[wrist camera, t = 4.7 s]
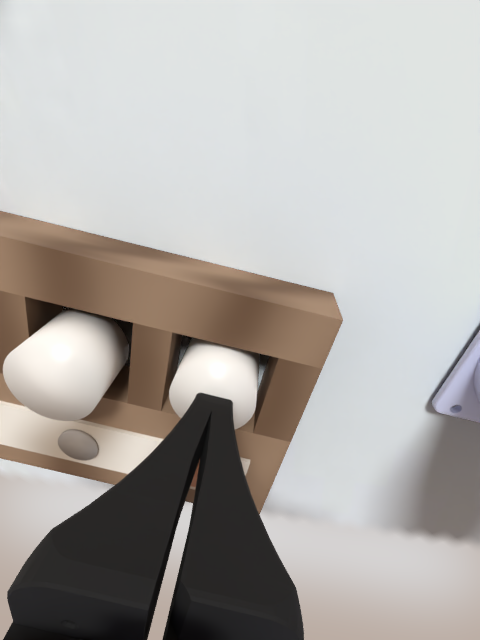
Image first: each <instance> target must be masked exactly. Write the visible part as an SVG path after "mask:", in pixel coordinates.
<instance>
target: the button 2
mask: <svg viewBox="0 0 480 640" xmlns="http://www.w3.org/2000/svg"><path fill="white" fill-rule="evenodd" d="M259 361H260V358H259V353H256V352H251V351H247V350H243V349H239V348H235V347H231V346H227V345H223V344H218V343H214V342H210V341H206V340H202V339H198V338H194V337H193V338H192V339H191V341H190V342H189V345H188V347H187V349H186V352H185V354H184V356H183V358H182V361H181V363H180V365H179V368H178V370H177V372H176V374H175V377H174V379H173V381H172V384H171V386H170V390H169V399H170V403H171V405H172V408H173V409H174V411H175V412H176V414H177V415H178V416H179V417H180V418H182V417H183V415H184V414H185V413H186V411H187V410H188V408H189V407H190V405H191V404H192V402H193V400H194V399H195V397H196V394H198V393H200V392H201V393H205V394H209V395H213V396H217V397H221V398H225V399H229V400H231V401H232V402H233V420H234V429H238V428H240V427H241V426H243V425H245V424H246V423H247V422H248V421H249V420H250V419H251V417H252V416H253V414H254V412H255V408H256V399H257V387H258V374H259Z"/></svg>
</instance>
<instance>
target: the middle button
mask: <svg viewBox="0 0 480 640" xmlns="http://www.w3.org/2000/svg"><path fill="white" fill-rule="evenodd" d="M128 356H129V345H128V341H127V338H126V336H125V334H124V332H123V331H122V329H121V328H120V327H119V326H118V325H117V323H116V322H114V321H113V320H112V319H111V318H110V317H107V316H103V315H99V314H95V313H91V312H86V311H82V310H78V309H74V308H69V309H66V310H64V311H62V312H61V313H60V314H58V315H57V316H56V317H55V318H53V319H52V320H51V321H49V322H48V323H47V324H46V325H44V326H43V327H42V328H41V329H39V330H38V331H37V332H35V333H34V334H33V335H32V336H30V337H29V338H28V339H27V340H25V341H24V342H23V343H22V344H20V345H19V346H18V347H16V348H15V349H14V350H13V351H11V352H10V353H9V354H8V355H7V357H6V359H5V360H4V364H3V376H4V379H5V382H6V384H7V386H8V388H9V390H10V391H11V393H12V394H13V395H14V396H15V397H16V399H18V400H19V401H20V402H21V403H22V404H23V405H24V406H26V407H27V408H28V409H30V410H32V411H33V412H35V413H37V414H39V415H41V416H44V417H47V418H50V419H53V420H59V421H74V420H79V419H82V418H84V417H86V416H88V415H89V414H90V413H91V412H92V411H93V410H94V408H95V407H96V405H97V404H98V403H99V401H100V400H101V398H102V397H103V395H104V394H105V392H106V391H107V389H108V388H109V387H110V385H111V384H112V382H113V381H114V379H115V378H116V376H117V375H118V373H119V372H120V370H121V369H122V368H123V366H124V365H125V363H126V361H127V359H128Z"/></svg>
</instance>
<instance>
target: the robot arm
mask: <svg viewBox="0 0 480 640" xmlns="http://www.w3.org/2000/svg"><path fill="white" fill-rule="evenodd" d="M432 405H433V407H434V409H435V410H436V411H437V412H439V413H441V414H446V415H450V416H454V417H458V418H462V419H466V420H470V421H475V422H479V423H480V330H479V332H478V333H477V335H476V336H475V338H474V339H473V341H472V342H471V344H470V345H469V347H468V348H467V350H466V351H465V353H464V354H463V356H462V357H461V359H460V360H459V362H458V363H457V365H456V366H455V368H454V369H453V370H452V372H451V373H450V375H449V376H448V378H447V379H446V381H445V382H444V384H443V385H442V387H441V388H440V390H439V391H438V393H437V394H436V396H435V397H434V399H433V401H432ZM454 405H456V406H455V407H452V406H454ZM199 460H200V462H199ZM198 463H199V469H198V475H197V482H196V488H195V495H194V501H193V508H192V514H191V520H190V526H189V531H188V535H187V539H186V543H185V548H184V552H183V556H182V561H181V564H180V569H179V573H178V577H177V581H176V585H175V590H174V594H173V598H172V602H171V606H170V611H169V615H168V619H167V623H166V627H165V632H164V636H163V640H304V631H303V622H302V615H301V609H300V604H299V599H298V595H297V591H296V587H295V585H294V583H293V581H292V580H291V578H290V576H289V574H288V573H287V571H286V569H285V567H284V565H283V564H282V562H281V560H280V558H279V556H278V554H277V552H276V550H275V548H274V546H273V544H272V542H271V540H270V538H269V536H268V534H267V531H266V529H265V527H264V525H263V522H262V520H261V518H260V515H259V513H258V511H257V508H256V506H255V503H254V500H253V498H252V495H251V492H250V489H249V486H248V483H247V480H246V477H245V473H244V470H243V466H242V462H241V459H240V454H239V450H238V445H237V440H236V435H235V429H234V420H233V402H232V401H231V400H229V399H225V398H221V397H217V396H213V395H209V394H205V393H201V392H200V393H198V394H196V397H195V399H194V400H193V402H192V404H191V405H190V407H189V408H188V410H187V411H186V413H185V414H184V415H183V417H182V418H181V419H180V421H179V422H178V423H177V424H176V426H175V427H174V428H173V429H172V431H171V432H170V433H169V434H168V435H167V436H166V437H165V439H164V440H163V441H162V442H161V443H160V444H159V445H158V446H157V447H156V448H155V449H154V450H153V451H152V452H151V454H150V455H148V456H147V457H146V458H145V459H144V460H143V461H142V462H141V463H140V464H139V465H138V466H137V467H136V468H135V469H133V470H132V471H131V472H130V473H129V474H128V475H127V476H125V477H124V478H123V479H122V480H121V481H120V482H118V483H117V484H116V485H115V486H113V487H112V488H111V489H109V490H108V491H107V492H105V493H104V494H103V495H101V496H100V497H99V498H98V499H96V500H95V501H93V502H92V503H91V504H90V505H88V506H86V507H85V508H84V509H82V510H81V511H79V512H78V513H76V514H74V515H73V516H71V517H70V518H68V519H67V520H65V521H64V522H62V523H61V524H59V525H58V526H56V527H54V528H53V529H52V530H51V531H50V532H49V533H48V534H47V535H46V537H45V538H44V539H43V540H42V541H41V542H40V544H39V545H38V546H37V547H36V549H35V550H34V551H33V553H32V554H31V555H30V557H29V558H28V559H27V561H26V562H25V564H24V565H23V567H22V569H21V570H20V572H19V574H18V575H17V577H16V579H15V581H14V582H13V584H12V585H11V587H10V589H9V590H8V597H7V599H8V603H9V607H10V611H11V614H12V618H13V623H12V624H11V626H10V628H9V630H8V632H7V634H6V635H5V637H4V639H3V640H147V638H148V634H149V630H150V627H151V623H152V619H153V615H154V611H155V607H156V604H157V600H158V596H159V592H160V588H161V584H162V580H163V577H164V573H165V569H166V565H167V561H168V557H169V554H170V550H171V546H172V542H173V539H174V534H175V531H176V527H177V524H178V520H179V518H180V514H181V511H182V509H183V506H184V503H185V500H186V497H187V494H188V491H189V489H190V486H191V483H192V480H193V477H194V474H195V471H196V469H197V466H198Z"/></svg>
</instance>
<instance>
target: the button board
mask: <svg viewBox="0 0 480 640" xmlns="http://www.w3.org/2000/svg"><path fill="white" fill-rule="evenodd" d="M62 306H66V307H70V308H74V309H78V310H82V311H86V312H91V313H95V314H99V315H103V316H107V317H111V318H115V319H119V320H124V321H128V322H132V323H133V331H132V344H131V358H130V367H129V366H125V365H124V366H123V368H122V369H121V370H120V372H119V373H118V375H117V376H116V378H115V379H114V381H113V382H112V384H111V385H110V387H109V388H108V389H107V391H106V392H105V394H104V395H103V397H102V398H101V400H100V401H99V403H98V404H97V405H96V407H95V408H94V410H93V411H92V412H91V413H90V414H89V415H88V416H86V417H84V418H82V419H79V420H74V421H59V420H53V419H50V418H47V417H44V416H41V415H39V414H37V413H35V412H33V411H32V410H30V409H28V408H27V407H26V406H24V405H23V404H22V403H21V402H20V401H19V400H18V399H16V397H15V396H14V395H13V394H12V393H11V391H10V390H9V388H8V386H7V384H6V382H5V379H4V376H3V364H4V360H5V359H6V357H7V355H8V354H9V353H10V352H11V351H13V350H14V349H15V348H16V347H18V346H19V345H20V344H22V343H23V342H24V341H25V340H27V339H28V338H29V337H30V336H32V335H33V334H34V333H35V332H37V331H38V330H39V329H41V328H42V327H43V326H44V325H46V324H47V323H48V322H49V321H51V320H52V319H53V318H55V317H56V316H57V315H58V314H60V313H61V312H62ZM342 321H343V319H342V316H341V313H340V311H339V308H338V305H337V303H336V300H335V297H334V294H333V293H330V292H326V291H322V290H318V289H314V288H310V287H306V286H302V285H298V284H294V283H290V282H286V281H282V280H278V279H274V278H270V277H266V276H262V275H257V274H253V273H249V272H245V271H241V270H237V269H233V268H229V267H225V266H221V265H217V264H213V263H209V262H205V261H201V260H197V259H193V258H189V257H185V256H181V255H176V254H172V253H168V252H164V251H160V250H156V249H152V248H148V247H144V246H140V245H136V244H132V243H128V242H124V241H120V240H116V239H112V238H108V237H104V236H100V235H96V234H91V233H87V232H83V231H79V230H75V229H71V228H67V227H63V226H59V225H55V224H51V223H47V222H43V221H39V220H35V219H31V218H27V217H23V216H19V215H15V214H10V213H6V212H2V211H0V458H2V459H6V460H11V461H15V462H19V463H24V464H28V465H32V466H36V467H41V468H45V469H49V470H54V471H58V472H62V473H66V474H71V475H75V476H79V477H84V478H88V479H92V480H97V481H101V482H105V483H109V484H114V485H116V484H117V483H118V482H120V481H121V480H122V479H123V478H124V477H125V476H127V475H128V474H129V473H130V472H131V471H132V470H133V469H135V468H136V467H137V466H138V465H139V464H140V463H141V462H142V461H143V460H144V459H145V458H146V457H147V456H148V455H150V454H151V452H152V451H153V450H154V449H155V448H156V447H157V446H158V445H159V444H160V443H161V442H162V441H163V440H164V439H165V437H166V436H167V435H168V434H169V433H170V432H171V431H172V429H173V428H174V427H175V426H176V424H177V423H178V422H179V421H180V419H181V418H180V417H179V416H178V415H177V414H176V412H175V411H174V409H173V408H172V405H171V403H170V399H169V390H170V386H171V384H172V381H173V379H174V377H175V374H176V371H177V365H178V359H179V353H180V346H181V340H182V335H185V336H190V337H194V338H198V339H202V340H206V341H210V342H214V343H218V344H223V345H227V346H231V347H235V348H239V349H243V350H247V351H251V352H256V353H260V354H264V355H268V356H269V359H268V362H267V365H266V368H265V371H264V374H263V377H262V380H261V383H260V387H259V390H258V393H257V399H256V408H255V412H254V414H253V416H252V417H251V419H250V420H249V421H248V422H247V423H246V424H245V425H243V426H241V427H240V428H238V429H235V435H236V440H237V445H238V450H239V454H240V459H241V462H242V466H243V470H244V473H245V477H246V480H247V483H248V486H249V489H250V492H251V495H252V498H253V500H254V503H255V506H256V508H257V511H258V513H259V514H260V512H261V510H262V507H263V505H264V503H265V500H266V498H267V496H268V493H269V491H270V489H271V486H272V484H273V482H274V479H275V477H276V475H277V472H278V470H279V468H280V465H281V463H282V461H283V458H284V456H285V454H286V451H287V449H288V447H289V445H290V442H291V440H292V438H293V435H294V433H295V431H296V428H297V426H298V424H299V421H300V419H301V417H302V414H303V412H304V410H305V407H306V405H307V403H308V400H309V398H310V396H311V393H312V391H313V389H314V386H315V384H316V382H317V379H318V377H319V375H320V372H321V370H322V368H323V366H324V363H325V361H326V359H327V356H328V354H329V352H330V349H331V347H332V345H333V342H334V340H335V338H336V335H337V333H338V331H339V328H340V326H341V324H342ZM199 462H200V460H199ZM198 469H199V463H198V466H197V469H196V471H195V474H194V477H193V480H192V483H191V486H190V489H189V491H188V494H187V497H186V500H185V501H187V502H191V503H193V501H194V495H195V488H196V482H197V475H198Z"/></svg>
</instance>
